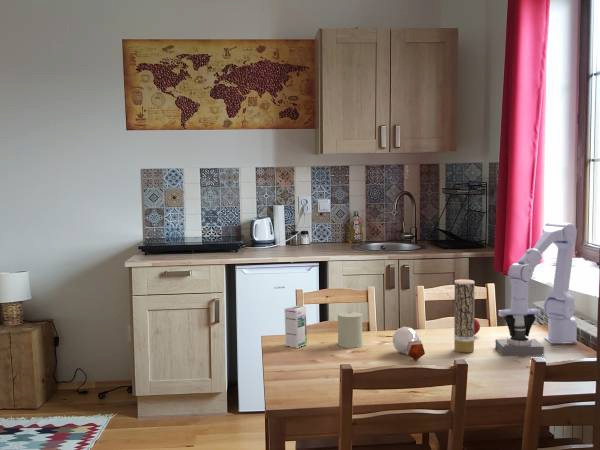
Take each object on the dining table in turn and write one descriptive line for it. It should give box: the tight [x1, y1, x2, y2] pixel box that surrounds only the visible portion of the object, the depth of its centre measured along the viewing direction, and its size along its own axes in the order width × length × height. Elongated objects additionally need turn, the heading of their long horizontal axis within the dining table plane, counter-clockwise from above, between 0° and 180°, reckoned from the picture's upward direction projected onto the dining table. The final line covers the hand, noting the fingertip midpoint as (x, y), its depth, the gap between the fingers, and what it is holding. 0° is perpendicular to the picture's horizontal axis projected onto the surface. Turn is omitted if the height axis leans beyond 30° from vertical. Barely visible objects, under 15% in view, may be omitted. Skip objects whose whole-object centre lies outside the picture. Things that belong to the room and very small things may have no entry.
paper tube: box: [453, 278, 476, 354], centre depth 245 cm, size 7×7×25 cm
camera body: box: [495, 335, 545, 356], centre depth 244 cm, size 14×10×4 cm
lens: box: [512, 323, 527, 341], centre depth 244 cm, size 5×5×6 cm
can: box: [337, 311, 363, 349], centre depth 256 cm, size 9×9×12 cm
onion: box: [474, 317, 481, 336], centre depth 265 cm, size 6×6×8 cm
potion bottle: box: [392, 326, 426, 362], centre depth 241 cm, size 9×10×15 cm
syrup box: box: [284, 305, 308, 349], centre depth 256 cm, size 6×6×14 cm
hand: (519, 335), depth 244 cm, fingers closed on lens, 5 cm apart
